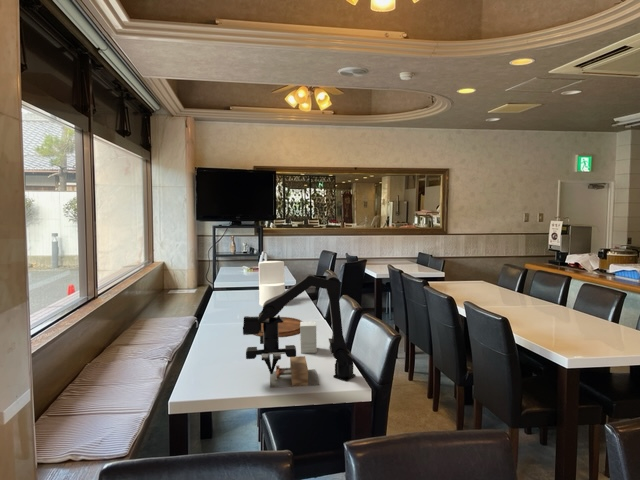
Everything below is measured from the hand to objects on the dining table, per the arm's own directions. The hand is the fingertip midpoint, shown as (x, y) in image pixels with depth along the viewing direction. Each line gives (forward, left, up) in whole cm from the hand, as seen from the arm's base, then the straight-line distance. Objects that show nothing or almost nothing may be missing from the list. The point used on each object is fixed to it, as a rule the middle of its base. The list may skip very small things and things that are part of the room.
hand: (271, 373), depth 160 cm
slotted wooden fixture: (-6, -6, -2) cm, 9 cm away
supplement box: (+10, -33, -3) cm, 35 cm away
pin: (-5, -5, -2) cm, 7 cm away
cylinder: (+87, -87, -3) cm, 123 cm away
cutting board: (+46, -49, -3) cm, 67 cm away
